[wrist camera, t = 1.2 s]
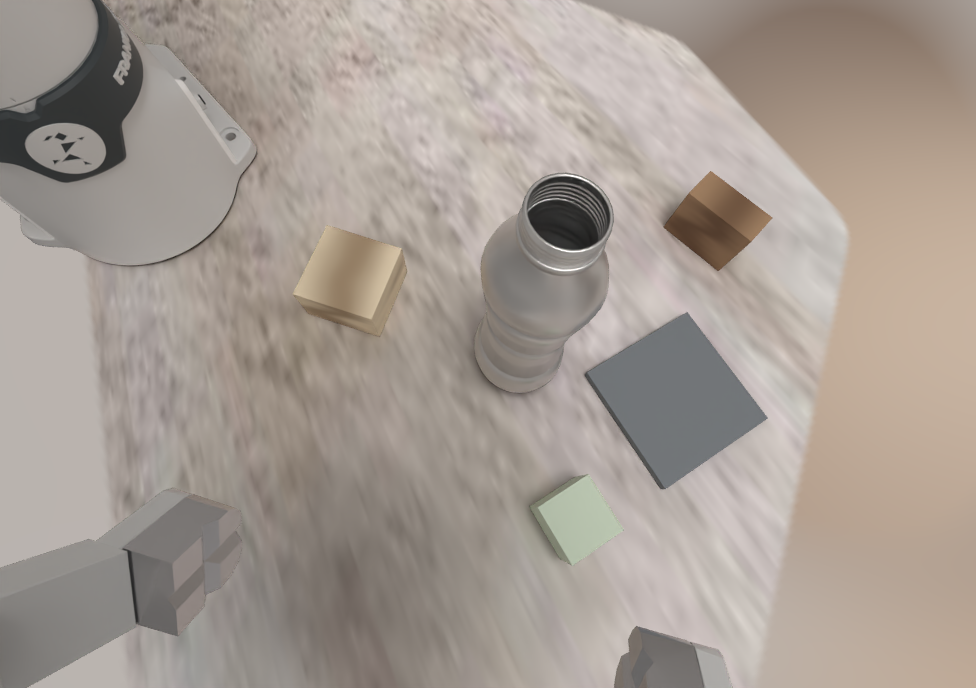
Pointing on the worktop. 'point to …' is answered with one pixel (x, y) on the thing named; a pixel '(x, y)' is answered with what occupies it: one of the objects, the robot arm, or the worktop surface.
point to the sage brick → (576, 519)
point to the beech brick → (352, 280)
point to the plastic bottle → (542, 280)
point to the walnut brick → (716, 221)
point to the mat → (675, 399)
